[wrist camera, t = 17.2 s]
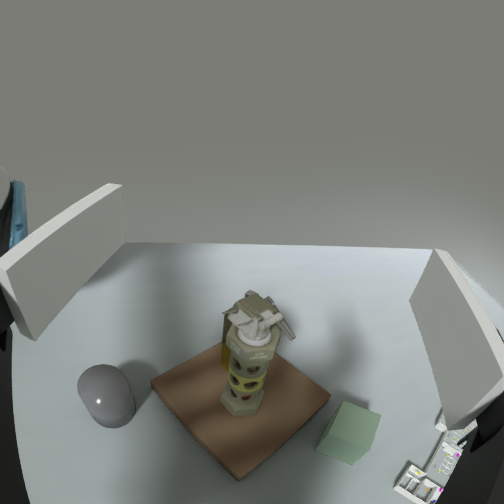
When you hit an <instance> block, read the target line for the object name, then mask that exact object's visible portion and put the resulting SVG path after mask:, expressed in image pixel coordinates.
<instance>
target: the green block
mask: <svg viewBox="0 0 504 504" xmlns="http://www.w3.org/2000/svg"><path fill="white" fill-rule="evenodd" d="M380 417H381V415H380V414H377V413H374V412H372V411H369V410H367V409H364V408H362V407H359V406H357V405H354V404H352V403H349V402H347V401H344V400H343V402H342V403H341V405H340V406H339V407H338V409H337V410H336V412H335V413H334V415H333V416H332V417H331V419H330V420H329V423H328V425H327V427H326V429H325V431H324V433H323V435H322V437H321V439H320V441H319V443H318V445H317V447H316V449H315V451H317V452H319V453H322V454H324V455H327V456H329V457H332V458H334V459H337V460H339V461H342V462H345V463H347V464H350V465H352V464H354V463H355V462H356V461H357V460H358V459H360V458H361V457H362V456H363V455H364V454H365V453H367V452H368V451H369V450H370V447H371V445H372V442H373V439H374V436H375V433H376V430H377V427H378V424H379V421H380Z"/></svg>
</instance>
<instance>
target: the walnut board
mask: <svg viewBox="0 0 504 504" xmlns="http://www.w3.org/2000/svg"><path fill="white" fill-rule="evenodd" d="M221 349H222V342H220V343H219V344H217V345H215V346H213V347H212V348H210V349H208V350H206V351H204V352H203V353H201V354H199V355H197V356H195V357H194V358H192V359H190V360H188V361H186V362H184V363H183V364H181V365H179V366H177V367H175V368H173V369H171V370H170V371H168V372H166V373H164V374H162V375H160V376H158V377H156V378H154V379H152V380H150V381H151V386H152V388H153V389H154V390H155V392H156V393H157V394H158V395H159V397H160V398H161V399H162V400H163V402H164V403H165V404H166V405H167V407H168V408H169V409H170V410H171V411H172V412H173V414H174V415H175V416H176V417H177V418H178V419H179V421H180V422H181V423H182V424H183V425H184V426H185V427H186V428H187V430H188V431H189V432H190V433H191V434H192V435H193V436H194V437H195V438H196V439H197V440H198V442H199V443H200V444H201V445H202V446H203V447H204V448H205V449H206V450H207V451H208V452H209V453H210V454H211V455H212V456H213V457H214V458H215V459H216V460H217V461H218V462H219V463H220V464H221V465H222V466H223V467H224V468H225V469H226V470H227V471H228V472H230V473H231V474H232V475H233V476H234V477H235V478H236V479H237V480H238V481H240V480H241V479H242V478H244V477H245V476H246V475H248V474H249V473H250V472H251V471H253V470H254V469H255V468H256V467H258V466H259V465H260V464H261V463H262V462H264V461H265V460H266V459H267V458H268V457H270V456H271V455H272V454H273V453H274V452H275V451H277V450H278V449H279V448H280V447H281V446H282V445H283V444H284V443H286V442H287V441H288V440H289V439H290V438H291V437H292V436H293V435H294V434H295V433H296V432H297V431H299V430H300V429H301V428H302V427H303V426H304V425H305V424H306V423H307V422H308V421H309V420H310V419H311V418H312V417H313V416H314V415H315V414H316V413H317V412H318V411H319V410H320V409H321V408H322V407H323V406H324V405H325V404H326V403H327V402H328V400H329V399H330V397H331V394H330V393H328V392H327V391H325V390H324V389H323V388H321V387H320V386H319V385H317V384H316V383H314V382H313V381H312V380H310V379H309V378H308V377H306V376H305V375H304V374H302V373H301V372H300V371H298V370H297V369H296V368H294V367H293V366H292V365H290V364H289V363H288V362H286V361H285V360H284V359H283V358H281V357H280V356H279V355H277V354H276V353H275V354H274V356H273V359H271V360H269V365H268V369H267V372H266V375H265V380H264V383H263V387H262V390H263V391H264V395H263V398H262V400H261V403H260V406H259V408H258V411H257V413H256V414H252V415H247V416H234V415H233V414H231V413H230V412H229V411H228V410H227V409H226V408H225V407H224V405H223V404H222V403H221V402H220V398H221V394H222V392H223V390H224V388H225V386H226V384H227V380H228V372H229V371H226V370H225V369H224V368H223V367H222V366H221V365H220V360H221ZM260 367H261V366H260Z"/></svg>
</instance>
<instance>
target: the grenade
mask: <svg viewBox="0 0 504 504" xmlns="http://www.w3.org/2000/svg"><path fill="white" fill-rule="evenodd" d="M222 314H225V315H224V326H223V337H222V349H221V360H220V365H221V366H222V367H223V368H224V369H225V370H226V371H229V372H228V380H227V384H226V386H225V388H224V390H223V392H222V394H221V398H220V402H221V403H222V404H223V405H224V407H225V408H226V409H227V410H228V411H229V412H230V413H231V414H233V415H234V416H247V415H252V414H256V413H257V411H258V408H259V406H260V403H261V400H262V398H263V395H264V391H263V390H262V387H263V383H264V380H265V375H266V372H267V369H268V365H269V360H271V359H273V356H274V354H275V351H276V348H277V345H278V343H279V340H280V336H281V332H282V331H283V332H284V333H285V334H286V336H287V337H288V338H289V339H290V340H293V339H295V338H296V337H295V335H294V333H293V332H292V330H291V329H290V327H289V326H288V324H287V323H286V321H285V320H284V318H283V316H282V314H281V313H280V312H279V310H278V309H277V307H276V306H275V303H274V301H273V300H272V299H271V298H270V297H269V296H267V298H265V299H263V298H262V297H261V296H259V294H257V293H256V292H254V291H251V290H249V291H248V292H247V293H245V298H243V299H241V300H239V301H237V302H236V303H235V304H234V306H233V307H232V308H231V309H229V310H228V311H225V312H223V313H222ZM275 323H276V324H275ZM260 366H261V367H260Z"/></svg>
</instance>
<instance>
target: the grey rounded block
mask: <svg viewBox="0 0 504 504" xmlns="http://www.w3.org/2000/svg"><path fill="white" fill-rule="evenodd" d="M77 389H78V393H79V396H80V397H81V399H82V401H83V403H84V404H85V406H86V408H87V409H88V411H89V413H90V414H91V416H92V417H93V419H94V420H95V421H96V422H97V423H98V424H100V425H102V426H104V427H107V428H119V427H122V426H124V425H126V424H127V423H129V422H130V421H131V420H132V418H133V416H134V414H135V410H136V406H135V402H134V399H133V396H132V393H131V390H130V387H129V384H128V381H127V378H126V376H125V375H124V373H123V372H122V371H121V370H119V369H118V368H116V367H114V366H111V365H105V364H101V365H95V366H93V367H90V368H88V369H87V370H86V371H84V372H83V374H82V375H81V376H80V378H79V380H78V384H77Z"/></svg>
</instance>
